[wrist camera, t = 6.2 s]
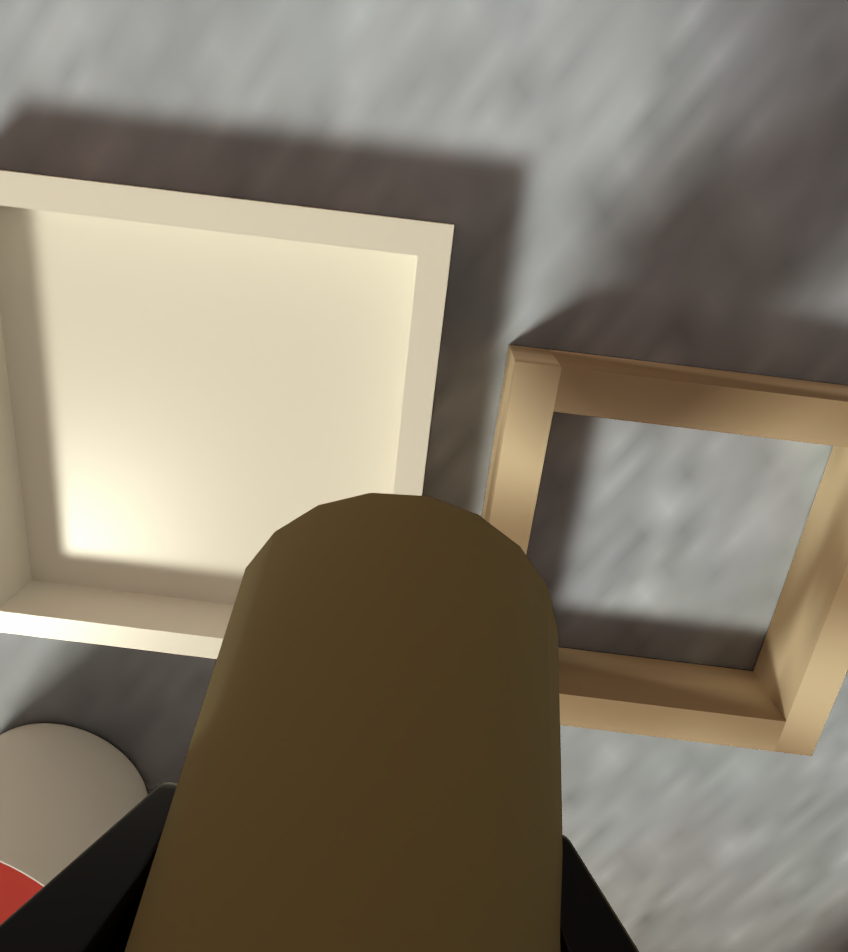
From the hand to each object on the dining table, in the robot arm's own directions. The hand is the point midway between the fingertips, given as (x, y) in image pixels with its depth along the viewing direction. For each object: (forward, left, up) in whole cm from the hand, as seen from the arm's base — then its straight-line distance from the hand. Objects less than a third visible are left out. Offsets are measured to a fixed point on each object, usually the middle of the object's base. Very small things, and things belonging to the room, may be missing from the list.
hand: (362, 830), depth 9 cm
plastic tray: (0, +7, -13) cm, 15 cm away
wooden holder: (-2, -8, -13) cm, 16 cm away
